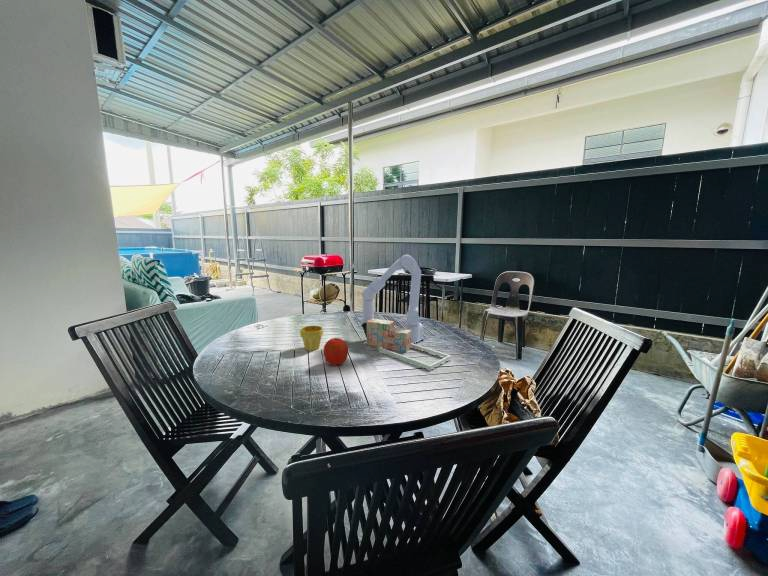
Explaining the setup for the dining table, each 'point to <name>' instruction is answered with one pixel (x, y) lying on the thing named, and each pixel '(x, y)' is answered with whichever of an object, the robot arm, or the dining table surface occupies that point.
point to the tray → (416, 360)
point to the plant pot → (311, 336)
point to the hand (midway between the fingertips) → (368, 337)
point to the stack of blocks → (388, 335)
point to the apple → (335, 351)
